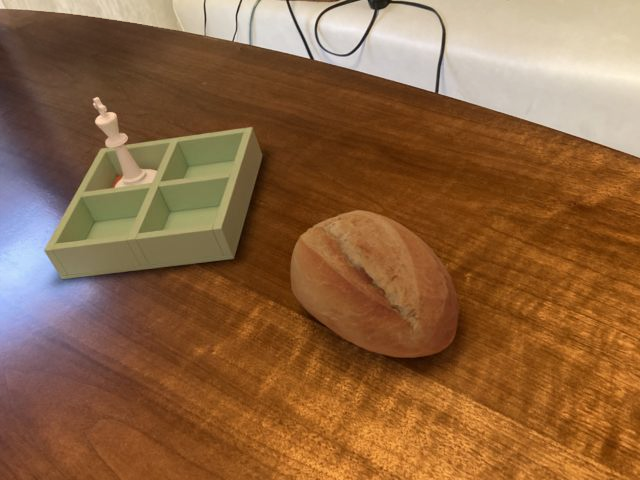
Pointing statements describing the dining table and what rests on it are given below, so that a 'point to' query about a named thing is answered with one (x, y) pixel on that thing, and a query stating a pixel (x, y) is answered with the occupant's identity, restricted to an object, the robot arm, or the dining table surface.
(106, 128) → the chess piece
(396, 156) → the dining table surface
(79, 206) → the grid
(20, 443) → the dining table surface
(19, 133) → the dining table surface
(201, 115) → the dining table surface
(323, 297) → the bread roll
